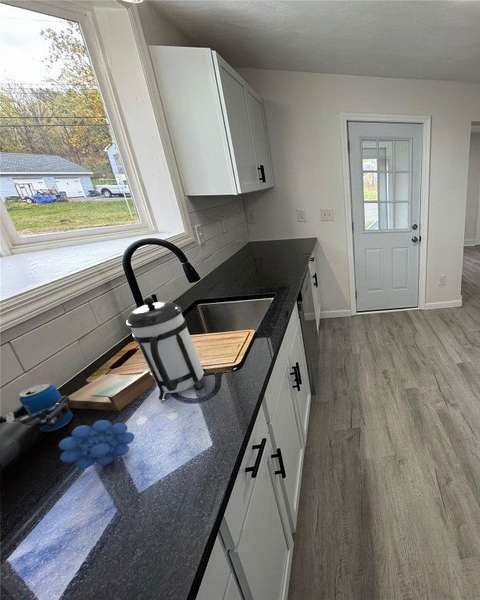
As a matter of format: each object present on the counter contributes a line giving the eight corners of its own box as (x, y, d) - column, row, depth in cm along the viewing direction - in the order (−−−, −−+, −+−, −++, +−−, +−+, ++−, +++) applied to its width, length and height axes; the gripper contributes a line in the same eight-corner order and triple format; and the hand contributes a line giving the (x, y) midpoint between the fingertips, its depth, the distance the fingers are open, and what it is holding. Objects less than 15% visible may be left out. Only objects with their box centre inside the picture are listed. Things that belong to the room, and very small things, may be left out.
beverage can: (35, 431, 84) (10, 396, 79) (63, 414, 89) (42, 380, 85) (52, 435, 82) (27, 398, 77) (80, 417, 88) (58, 382, 83)
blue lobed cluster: (77, 492, 66) (48, 451, 61) (74, 474, 70) (47, 434, 65) (144, 456, 74) (122, 417, 69) (138, 441, 78) (117, 403, 73)
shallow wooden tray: (67, 407, 92) (59, 394, 90) (108, 381, 103) (101, 369, 101) (119, 411, 89) (111, 397, 87) (155, 383, 100) (149, 371, 98)
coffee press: (140, 398, 94) (95, 307, 82) (191, 367, 107) (158, 286, 95) (178, 411, 87) (134, 315, 75) (227, 377, 100) (196, 291, 88)
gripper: (27, 427, 70) (73, 384, 84) (-57, 446, 66) (6, 397, 81) (44, 451, 73) (86, 405, 87) (-35, 470, 69) (22, 419, 84)
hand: (47, 401), depth 84 cm, fingers open, 8 cm apart
